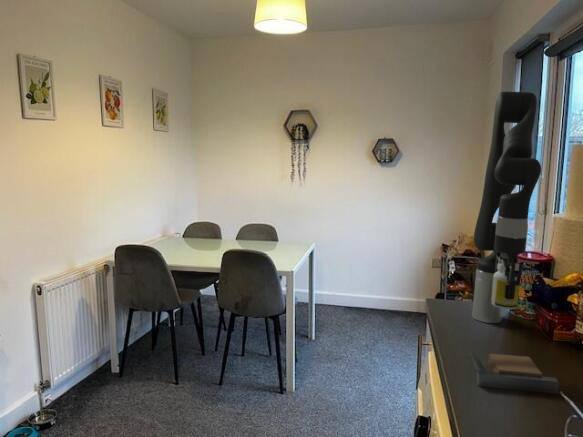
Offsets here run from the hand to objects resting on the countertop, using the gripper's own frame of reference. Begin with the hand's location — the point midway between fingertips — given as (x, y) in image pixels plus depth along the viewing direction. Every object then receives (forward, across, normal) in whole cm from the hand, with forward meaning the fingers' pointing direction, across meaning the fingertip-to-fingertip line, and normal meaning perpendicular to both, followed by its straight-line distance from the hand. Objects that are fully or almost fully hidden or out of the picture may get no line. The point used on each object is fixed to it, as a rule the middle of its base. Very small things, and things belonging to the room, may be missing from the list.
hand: (504, 294), depth 119 cm
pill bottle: (+3, 0, 0) cm, 3 cm away
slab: (+19, +9, +1) cm, 21 cm away
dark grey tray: (+19, +7, 0) cm, 20 cm away
